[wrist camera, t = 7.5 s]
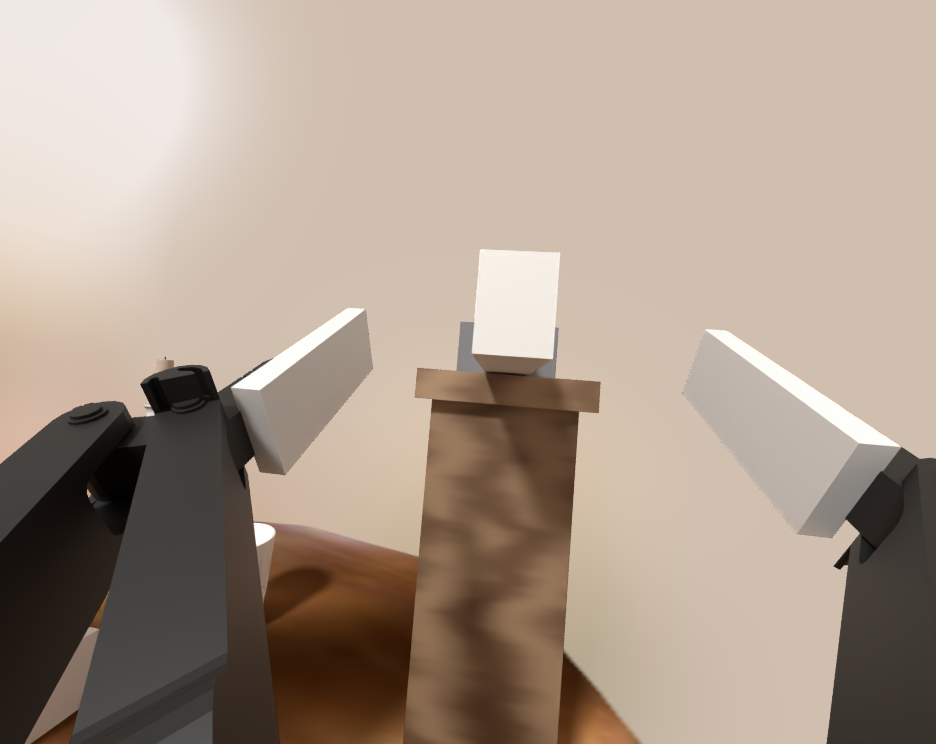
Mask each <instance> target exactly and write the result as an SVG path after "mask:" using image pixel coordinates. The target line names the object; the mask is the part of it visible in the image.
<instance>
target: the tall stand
mask: <svg viewBox="0 0 936 744" xmlns="http://www.w3.org/2000/svg"><path fill="white" fill-rule="evenodd" d="M599 397H600V382H595V381H582V380H569V379H556V378H543V377H530V376H516V375H503V374H490V373H477V372H464V371H451V370H437V369H424V368H417V378H416V389H415V398H426V399H432V408H431V421H430V431H429V443H428V455H427V467H426V478H425V491H424V502H423V514H422V526H421V537H420V549H419V561H418V573H417V584H416V596H415V608H414V620H413V631H412V643H411V655H410V667H409V679H408V690H407V702H406V714H405V726H404V737H403V744H557V739H558V723H559V708H560V693H561V678H562V662H563V647H564V631H565V617H566V616H565V615H566V601H567V585H568V570H569V555H570V540H571V525H572V509H573V494H574V478H575V463H576V448H577V433H578V418H579V412H591V413H599Z"/></svg>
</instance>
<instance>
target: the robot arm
mask: <svg viewBox="0 0 936 744" xmlns="http://www.w3.org/2000/svg"><path fill="white" fill-rule="evenodd" d="M366 316H367V315H366V309H357V308H347V309H346V310H344V311H343V312H341V313H340V314H338V315H337V316H335V317H334V318H332V319H331V320H330V321H328V322H327V323H325V324H324V325H322V326H321V327H319V328H318V329H316V330H315V331H313V332H312V333H311V334H309V335H307V336H306V337H304V338H303V339H302V340H300V341H299V342H297V343H296V344H294V345H293V346H291V347H290V348H288V349H287V350H285V351H284V352H282V353H281V354H279V355H278V356H277V357H275V358H273V359H270V360H267V361H265V362H263V363H261V364H260V365H258V366H257V367H255V368H254V369H253V371H249V372H248V373H246V374H245V375H244V376H243V377H241V378H239V379H237V380H236V381H234V382H233V383H232V384H230V385H228V386H227V387H226V388H224V389H222V390H221V391H219V392H217V390H216V387H215V384H214V381H213V379H212V376H211V373H210V371H209V369H208V368H207V367H205V366H202V365H186V366H178V367H174V368H170V369H166V370H163V371H160V372H158V373H155V374H153V375H151V376H149V377H148V378H146V379H144V381H143V382H142V383H141V384H140V385H141V387H142V389H143V391H144V393H145V395H146V397H147V399H148V401H149V403H150V406H151V408H152V410H153V412H154V414H155V415H154V416H145V417H134V418H131V416H130V414H129V412H128V410H127V409H126V406H125V405H124V404H123V403H121V402H117V401H108V402H100V403H89V404H85V405H84V406H79V407H76V408H74V409H73V410H72V411H69V412H67V413H65V414H62V415H61V416H59V417H58V418H56V419H54V420H53V421H51V423H49V424H48V425H47V426H45V427H44V428H43V429H42V430H41V431H39V432H38V433H37V434H36V435H35V436H33V437H32V438H31V439H30V440H29V441H28V442H26V443H25V444H24V445H23V446H21V447H20V448H19V449H18V450H17V451H16V452H14V453H13V454H12V455H11V456H9V457H8V458H7V459H6V460H5V461H3V462H2V463H1V464H0V744H25V742H26V740H27V738H28V737H29V735H30V733H31V731H32V729H33V728H34V726H35V724H36V722H37V720H38V719H39V717H40V715H41V713H42V711H43V710H44V708H45V706H46V704H47V702H48V700H49V699H50V697H51V695H52V693H53V691H54V690H55V688H56V686H57V684H58V682H59V681H60V679H61V677H62V675H63V673H64V672H65V670H66V668H67V666H68V664H69V662H70V661H71V659H72V657H73V655H74V653H75V652H76V650H77V648H78V646H79V644H80V643H81V641H82V639H83V637H84V635H85V634H86V632H87V630H88V628H89V626H90V624H91V623H92V621H93V619H94V617H95V615H96V614H97V612H98V610H99V608H100V606H101V605H102V603H103V601H104V599H105V597H106V596H107V594H108V597H107V601H106V605H105V609H104V613H103V617H102V620H101V624H100V628H99V632H98V636H97V640H96V644H95V648H94V652H93V655H92V659H91V663H90V667H89V671H88V675H87V679H86V683H85V687H84V690H83V694H82V698H81V702H80V706H79V710H78V714H77V718H76V721H75V725H74V729H73V733H72V736H71V739H70V742H69V744H280V741H279V733H278V724H277V716H276V708H275V699H274V691H273V682H272V674H271V666H270V657H269V649H268V640H267V632H266V623H265V615H264V607H263V598H262V590H261V581H260V573H259V564H258V556H257V548H256V539H255V531H254V522H253V514H252V506H251V498H250V489H249V481H248V474H247V471H246V469H245V466H244V465H245V464H246V463H247V462H248V461H249V460H250V459H251V458H252V457H253V456H254V457H255V460H256V463H257V465H258V468H259V471H260V472H263V473H272V474H280V475H281V474H282V475H286V474H287V472H288V471H289V470H290V469H291V467H292V466H293V465H294V464H295V463H296V461H297V460H298V459H299V458H300V457H301V455H302V454H303V453H304V452H305V450H306V449H307V448H308V447H309V445H310V444H311V443H312V442H313V441H314V440H315V438H316V437H317V436H318V434H319V433H320V432H321V431H322V430H323V429H324V427H325V426H326V425H327V424H328V423H329V421H330V420H331V419H332V418H333V417H334V415H335V414H336V413H337V412H338V410H339V409H340V408H341V407H342V405H343V404H344V403H345V402H346V401H347V400H348V398H349V397H350V396H351V394H352V393H353V392H354V391H355V390H356V389H357V387H358V386H359V385H360V384H361V383H362V381H363V380H364V379H365V378H366V376H367V375H368V374H369V373H370V372H371V370H372V369H373V365H372V357H371V349H370V341H369V333H368V324H367V317H366ZM682 393H683V395H684V396H685V397H686V398H687V400H688V401H689V402H690V403H691V405H693V407H694V408H695V409H696V411H697V412H698V413H699V414H700V416H701V417H702V418H703V419H704V421H705V422H706V423H707V424H708V425H709V427H710V428H711V429H712V430H713V432H714V433H715V434H716V435H717V436H718V438H719V439H720V440H721V441H722V443H723V444H724V445H725V446H726V448H727V449H728V450H729V451H730V452H731V454H732V455H733V456H734V457H735V459H736V460H737V461H738V462H739V463H740V465H741V466H742V467H743V468H744V470H745V471H746V472H747V473H748V475H749V476H750V477H751V478H752V479H753V481H754V482H755V483H756V484H757V486H758V487H759V488H760V489H761V491H762V492H763V493H764V494H765V495H766V497H767V498H768V499H769V500H770V502H771V503H772V504H773V505H774V507H775V508H776V509H777V510H778V511H779V513H780V514H781V515H782V516H783V518H784V519H785V520H786V521H787V523H788V524H789V525H790V526H791V527H792V528H793V530H794V531H795V532H796V533H797V534H801V535H809V536H819V537H827V538H833V536H834V534H836V532H837V531H838V530H839V528H840V527H841V526H842V524H843V523H844V522H845V520H846V519H847V520H848V521H849V522H850V523H851V524H852V525H853V526H854V527H855V528H856V529H857V530H858V531H859V532H860V534H859V535H858V537H857V538H856V539H855V540H854V541H853V543H852V544H851V545H850V546H849V548H848V549H847V550H846V552H845V553H844V554H843V555H842V556H841V557H840V559H839V560H838V561H837V563H836V564H835V565H834V567H836V568H838V569H841V568H842V567H843V566H844V565H848V572H847V580H846V588H845V596H844V605H843V613H842V621H841V630H840V638H839V646H838V655H837V663H836V671H835V680H834V688H833V696H832V704H831V713H830V721H829V729H828V737H827V744H936V459H934V458H925V459H919V458H917V457H916V456H914V455H913V454H911V453H910V452H908V451H907V450H905V449H904V448H902V447H901V446H899V445H898V444H896V443H895V442H893V441H892V440H890V439H889V438H887V437H886V436H884V435H883V434H881V433H880V432H878V431H877V430H875V429H874V428H872V427H871V426H869V425H868V424H866V423H865V422H863V421H862V420H860V419H859V418H857V417H856V416H854V415H853V414H851V413H850V412H848V411H847V410H845V409H844V408H842V407H841V406H839V405H838V404H836V403H835V402H833V401H832V400H830V399H829V398H827V397H826V396H824V395H823V394H821V393H820V392H818V391H816V390H815V389H814V388H812V387H810V386H809V385H807V384H806V383H805V382H803V381H801V380H800V379H798V378H797V377H796V376H794V375H792V374H791V373H789V372H788V371H787V370H785V369H783V368H782V367H780V366H779V365H777V364H776V363H775V362H773V361H772V360H770V359H769V358H767V357H766V356H764V355H763V354H761V353H760V352H758V351H756V350H755V349H753V348H752V347H751V346H749V345H747V344H746V343H745V342H743V341H741V340H740V339H739V338H737V337H735V336H734V335H732V334H731V333H730V332H728V331H723V330H705V331H704V333H703V336H702V339H701V341H700V344H699V347H698V350H697V353H696V356H695V358H694V361H693V364H692V367H691V370H690V372H689V375H688V378H687V381H686V384H685V386H684V389H683V392H682ZM87 489H88V490H89V492H90V493H91V496H90V497H89V498H88V495H87ZM108 592H109V593H108Z"/></svg>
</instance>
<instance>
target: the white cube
mask: <svg viewBox="0 0 936 744" xmlns="http://www.w3.org/2000/svg"><path fill="white" fill-rule="evenodd" d="M98 632H99V629H96V628H92V627H89V628H88V630H87V632H86V634H85V635H84V637H83V639H82V641H81V643H80V644H79V646H78V648H77V650H76V652H75V653H74V655H73V657H72V659H71V661H70V662H69V664H68V666H67V668H66V670H65V672H64V673H63V675H62V677H61V679H60V681H59V682H58V684H57V686H56V688H55V690H54V691H53V693H52V695H51V697H50V699H49V700H48V702H47V704H46V706H45V708H44V710H43V711H42V713H41V715H40V717H39V719H38V720H37V722H36V724H35V726H34V728H33V729H32V731H31V733H30V735H29V737H28V738H27V740H26V742H25V744H31V743H32V742H34V741H35V740H36V739H38V738H39V737H41V736H42V735H43V734H45V733H46V732H48V731H49V730H50V729H52V728H53V727H55V726H56V725H57V724H59V723H60V722H61V721H63V720H64V719H66V718H67V717H68V716H70V715H71V714H73V713H74V712H75V711H77V710H78V709H79V706H80V702H81V698H82V694H83V690H84V687H85V683H86V679H87V675H88V671H89V667H90V663H91V659H92V655H93V652H94V648H95V644H96V640H97V636H98Z"/></svg>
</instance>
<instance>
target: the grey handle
mask: <svg viewBox="0 0 936 744" xmlns="http://www.w3.org/2000/svg"><path fill="white" fill-rule="evenodd" d="M559 263H560V253H554V252H530V251H506V250H505V251H504V250H481V249H480V258H479V270H478V283H477V295H476V308H475V319H474V323H473V322H461V324H460V336H459V348H458V361H457V371H464V372H477V373H490V374H503V375H516V376H530V377H543V378H555V372H556V371H555V370H556V358H557V343H558V328H555V322H556V307H557V292H558V277H559Z"/></svg>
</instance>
